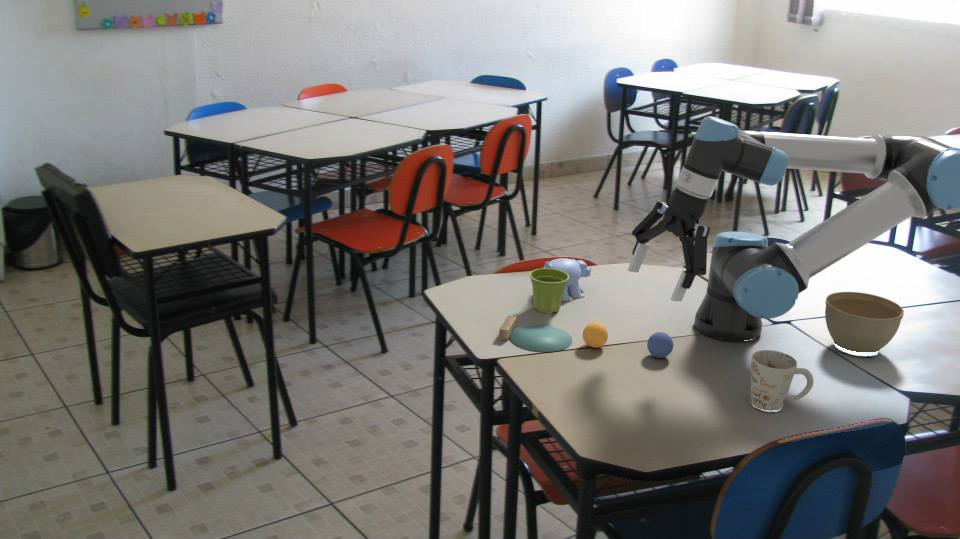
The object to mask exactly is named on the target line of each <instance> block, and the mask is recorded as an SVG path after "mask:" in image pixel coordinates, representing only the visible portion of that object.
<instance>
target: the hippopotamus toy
mask: <svg viewBox="0 0 960 539" xmlns="http://www.w3.org/2000/svg"><path fill="white" fill-rule="evenodd" d="M542 268H551V269H557V270H561V271H564V272H566V273H567V274H568V275H569V280H568V281H567V284H566V285H565V288H564V292H563V296H562V301H561V302H564V303H565V302H569V301H572V300H574V299H581V298H584V297H585V294H583V293H582V292H581V288H580V284H579V280H580V279H581V278H588V277H591V273H592V266H589V267H588V265H587V263H586V262H585V261H583V260H580V259H579V260H576V259H575V258H566V257H565V258H555V259H552V260H551V261H545V262H544V266H543V267H542Z"/></svg>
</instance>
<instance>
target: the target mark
mask: <svg viewBox="0 0 960 539" xmlns="http://www.w3.org/2000/svg"><path fill="white" fill-rule="evenodd" d="M509 341H510V342H511V343H512V344H513V345H515V346H516V347H519V348H520V349H523V350H527V351H530V352H538V353H539V352H540V353H553V352H559V351H562V350H565V349H567V348H569V347H570V346H571V345H572V343H573V337H572V335H570V334H569V333H568V332H567V331H565V330H564V329H562V328H559V327H556V326H552V325H547V324H546V325H545V324H526V325H525V324H524V325H520V326H518V327H517V326H516V328H515V329H514V330H513V332H512V334H511V336H510V337H509Z"/></svg>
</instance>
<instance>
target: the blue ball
mask: <svg viewBox="0 0 960 539" xmlns="http://www.w3.org/2000/svg"><path fill="white" fill-rule="evenodd" d="M646 343H647V344H646V345H647V350H648V352H649V353H650V354H651V356H653V357H655V358H657V359H659V358H660V359H662V358H663V359H664V358H666V357H668V356H669V355H670V354H671V353H672V352H673V350H674V341H673V338H672V337H671V336H670V335H669V334H668V333H665V332H663V331H659V332H658V331H657V332H655V333H653V334H651V335H650V336H649V338H648V340H647V342H646Z"/></svg>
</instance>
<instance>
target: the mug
mask: <svg viewBox="0 0 960 539" xmlns="http://www.w3.org/2000/svg"><path fill="white" fill-rule="evenodd" d="M750 361H751V362H750V363H751V364H750V365H751V367H750V368H751V369H750V404H751V403H752V404H753V405H754V406H755V407H757V408H760V409H764V410H769V411H770V410H771V411H772V410H779V409H781V408H782V407H784V405H785V402H786V400H789V401H790V400H791V401H795V400H800V399H803V398H804V397H805V396H807V395H808V394H809V393H810V391H811V390H812V388H813V386H814V376H813V374H812V373H811V371H810V370H809V369H807V368H803V367H798V362H797V360H796V359H795V357H793V356H791V355H790V354H787V353H784V352H781V351H778V350H771V349H768V350H767V349H764V350H763V349H761V350H757V351H754V352H753V353H752V354H751V360H750ZM795 375H802V376H804V377H805V379H806V385H805V387H804V388H803V390H801V391H800V392H799V393H798V394H796V395H795V394H794V395H793V394H788V393H789V390H790V387H791V385H792V382H793V379H794V377H795ZM782 409H783V408H782Z"/></svg>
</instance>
